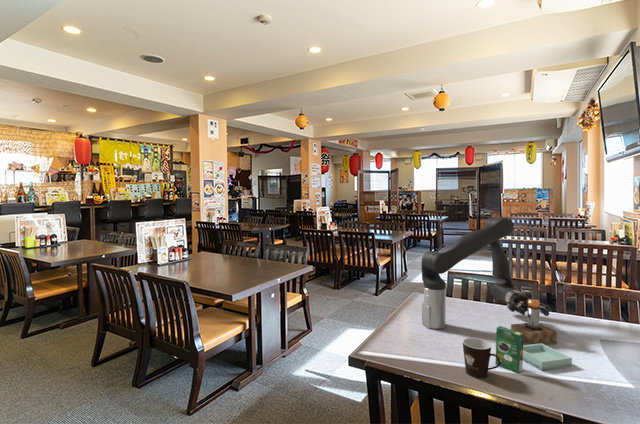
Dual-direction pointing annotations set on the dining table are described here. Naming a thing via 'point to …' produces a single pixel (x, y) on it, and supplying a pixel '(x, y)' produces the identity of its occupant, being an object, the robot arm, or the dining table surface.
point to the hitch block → (536, 334)
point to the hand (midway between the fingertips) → (535, 313)
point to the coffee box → (509, 349)
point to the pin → (533, 314)
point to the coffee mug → (477, 357)
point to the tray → (545, 357)
